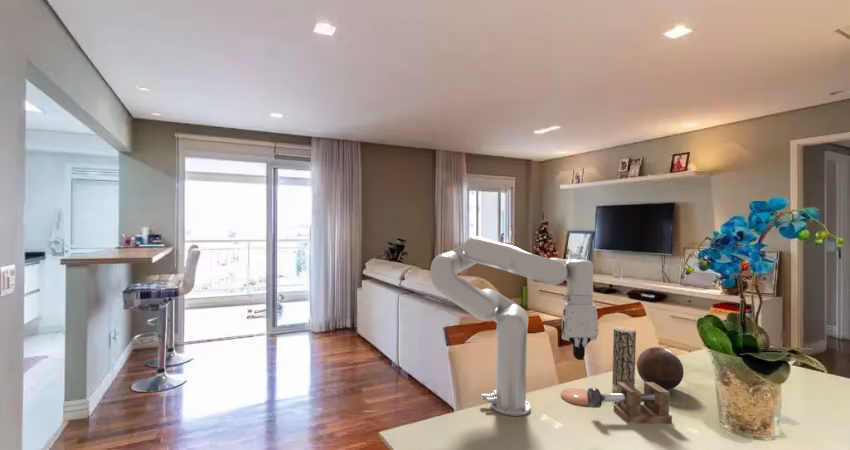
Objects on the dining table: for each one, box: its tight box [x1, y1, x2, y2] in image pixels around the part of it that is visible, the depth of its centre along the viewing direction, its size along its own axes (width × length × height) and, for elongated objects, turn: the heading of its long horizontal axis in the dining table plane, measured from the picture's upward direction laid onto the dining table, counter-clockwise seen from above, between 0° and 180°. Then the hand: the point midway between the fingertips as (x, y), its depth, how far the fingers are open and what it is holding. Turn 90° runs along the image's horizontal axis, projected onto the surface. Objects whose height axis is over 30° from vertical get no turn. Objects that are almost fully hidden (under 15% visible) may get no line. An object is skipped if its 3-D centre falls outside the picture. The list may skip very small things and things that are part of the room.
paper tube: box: [611, 325, 637, 404], centre depth 140 cm, size 7×7×25 cm
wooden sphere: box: [636, 346, 684, 391], centre depth 152 cm, size 15×15×15 cm
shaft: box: [587, 387, 655, 409], centre depth 129 cm, size 20×6×6 cm, turn 94°
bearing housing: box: [613, 381, 673, 424], centre depth 129 cm, size 14×8×9 cm, turn 94°
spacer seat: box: [560, 387, 591, 407], centre depth 142 cm, size 12×12×1 cm
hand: (578, 358), depth 128 cm, fingers closed
